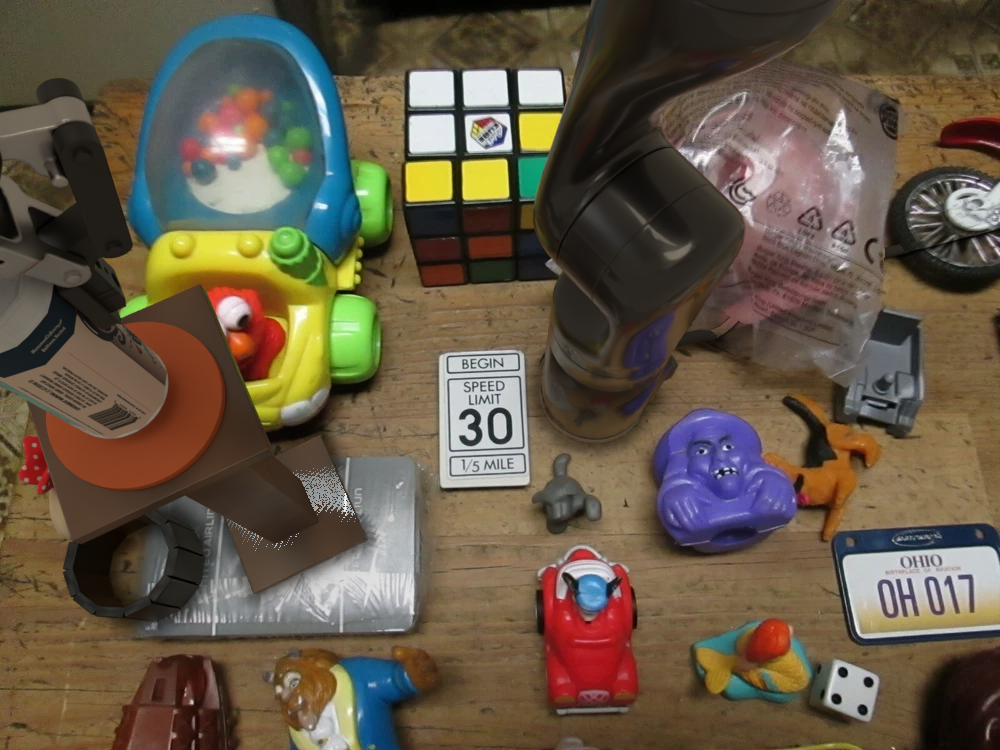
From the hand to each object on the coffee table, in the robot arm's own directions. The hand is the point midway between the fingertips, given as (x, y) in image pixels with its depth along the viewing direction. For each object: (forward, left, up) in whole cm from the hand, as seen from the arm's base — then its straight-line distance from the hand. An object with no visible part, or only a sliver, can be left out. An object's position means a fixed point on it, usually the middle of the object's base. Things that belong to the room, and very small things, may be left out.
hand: (40, 334), depth 32 cm
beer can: (0, 0, -8) cm, 8 cm away
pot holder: (0, 0, -9) cm, 9 cm away
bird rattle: (+13, -8, -41) cm, 43 cm away
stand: (0, 0, -40) cm, 40 cm away
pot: (+12, -1, -40) cm, 42 cm away
